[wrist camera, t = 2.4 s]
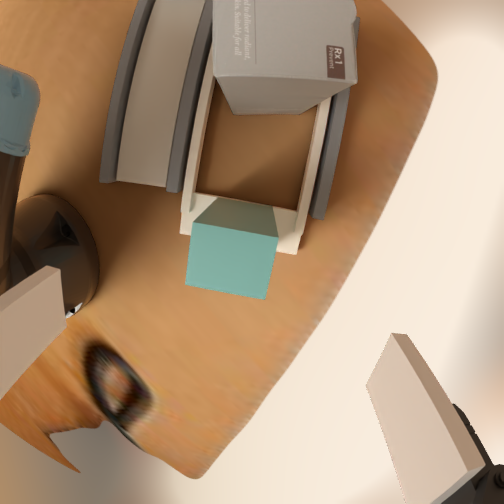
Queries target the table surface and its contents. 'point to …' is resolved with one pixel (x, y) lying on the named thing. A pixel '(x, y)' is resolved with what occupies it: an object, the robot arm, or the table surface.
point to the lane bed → (190, 108)
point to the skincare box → (283, 53)
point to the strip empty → (158, 92)
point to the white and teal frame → (239, 218)
